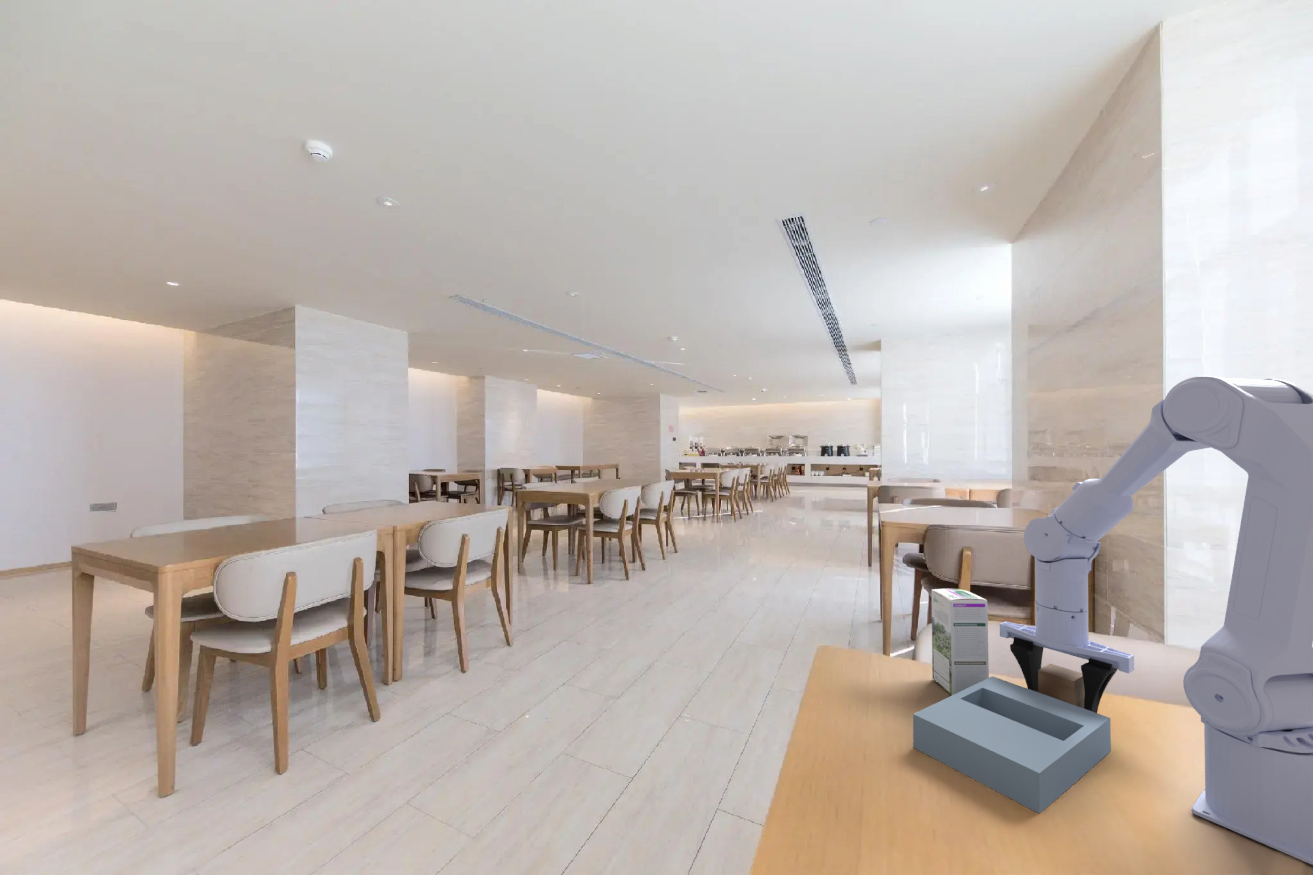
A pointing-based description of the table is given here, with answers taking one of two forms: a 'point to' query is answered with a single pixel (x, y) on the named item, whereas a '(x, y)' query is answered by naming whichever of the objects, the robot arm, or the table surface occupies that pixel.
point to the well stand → (1013, 740)
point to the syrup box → (959, 639)
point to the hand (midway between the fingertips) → (1061, 705)
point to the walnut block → (1062, 684)
